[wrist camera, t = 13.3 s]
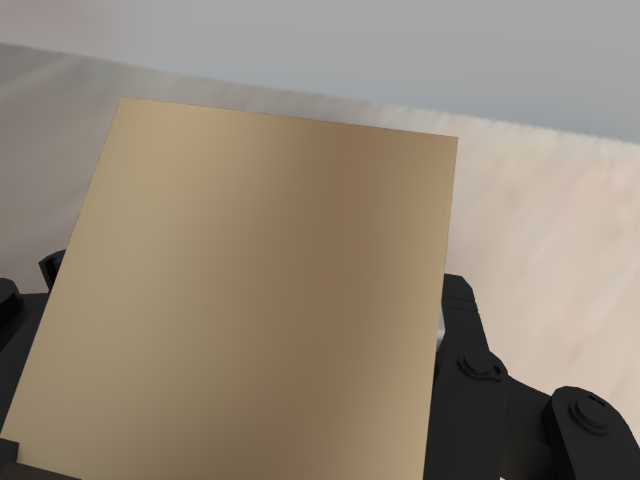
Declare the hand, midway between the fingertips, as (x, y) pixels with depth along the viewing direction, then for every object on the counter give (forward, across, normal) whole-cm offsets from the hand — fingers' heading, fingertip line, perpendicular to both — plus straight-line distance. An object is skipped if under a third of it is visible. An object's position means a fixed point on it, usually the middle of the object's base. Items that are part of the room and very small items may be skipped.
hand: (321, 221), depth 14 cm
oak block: (0, 0, -5) cm, 5 cm away
